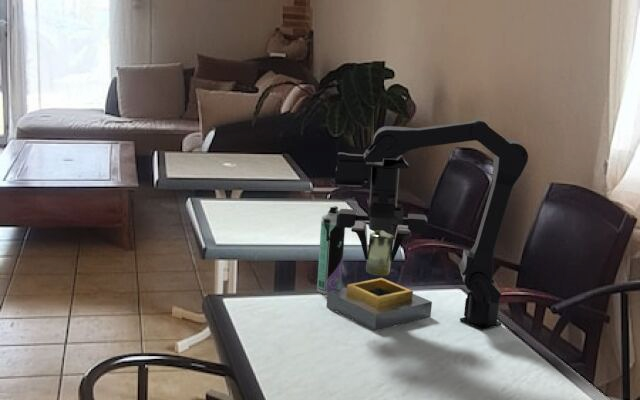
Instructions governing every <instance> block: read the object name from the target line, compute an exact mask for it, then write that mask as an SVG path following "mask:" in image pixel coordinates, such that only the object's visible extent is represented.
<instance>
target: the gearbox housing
mask: <svg viewBox="0 0 640 400" xmlns="http://www.w3.org/2000/svg"><path fill="white" fill-rule="evenodd" d="M326 295H327V297H326V308H328V307H329V308H328V309H330V308H331V310H332V309H333V311H334V310H335V311H334V312H336V311H337V312H336V313H338V312H339V313H338V314H340V313H341V314H340V315H342V314H343V316H344V315H345V316H344V317H346V316H347V317H346V318H348V317H349V319H350V318H351V319H350V320H352V319H353V321H355V322H356V321H357V323H359V324H361V325H363V326H364V327H366V328H368V329H370V330H373V331H380V330H384V329H389V328H392V327H397V326H399V325H400V326H401V325H405V324H408V323H412V322H416V321H420V320H421V321H422V320H425V319H428V318H431V316H432V307H433V306H432V305H433V302H432V301H431V300H429V299H426V298H424V297H421V296H419V295H418V294H415V293H414V290H412V289H409V288H407V287H404V286H402V285H400V284H397V283H395V282H392V281H390V280H388V279H386V278H383V277H379V278H375V279H373V278H372V279H369V280H364V281H360V282H353V283H348V284H347V287H343V288H342V287H341V289H337V290H332V291H328V292H327V294H326Z"/></svg>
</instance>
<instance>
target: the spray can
mask: <svg viewBox="0 0 640 400" xmlns="http://www.w3.org/2000/svg"><path fill="white" fill-rule="evenodd" d="M338 211H339V207H338V206H331V207H330V208H329V210H328V211H327V213H326V214H324V215H322V216H321V220H320V236H319V237H320V238H319V251H318V252H319V255H318V269H317V270H318V271H317V286H316V287H317V288H316V290H317V292H319V293H320V294H322V295H327V292H328V291H332V290H337V289H342V280H343V278H342V277H343V265H344V264H343V263H344V261H343V260H344V248H345V246H344V245H345V234H346V228H343V227H337V226H336V219H337V214H338Z"/></svg>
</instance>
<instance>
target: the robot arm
mask: <svg viewBox="0 0 640 400" xmlns="http://www.w3.org/2000/svg"><path fill="white" fill-rule="evenodd" d="M372 140H373V142H372V143H371V144H370V146H368V148H367V149H365V151H364V153H363V154H358V153H346V152H343V151H342V152H340V151H339V152H338V153H337V160H336V161H337V162H336V168H335V175H334V176H335V177H334V178H335V179H334V186H340V187H341V186H346V187H360V188H362V187H363V185H365V183H368V179H369V168H370V167H371V171H370V173H371V175H370V190H369V204H368V208H367V210H368V211H367V214H360V213H359V214H358V210H357V209H350V208H349V209H348V208H340V209H338V214H337V219H336V226H337V227H343V228H345V229H351V230H350V231H351V232H352V233H356V235H357V237H358V240H359V242H360V244H361V249H362V252H363V256H364V260H365V261H367V256H368V248H369V243H368V230H367V229H369V230H371V231H372V232H375V231H376V230H381V232H382V231H383V232H384V231H385V233H389V232H392V231H393V230H394V227H396V231H395V234H394V240H393V248H392V256H391V263H393V262H394V260H395V259H396V255H397V253H398V250H399V248H400V246H401V245H402V242H403V241H404V239H406V237H410V236H412V234H423V235H424V234H427V230H428V217H427V216H426V215H425V214H417V213H408V215H407V217H404V211H405V210H404V209H405V208H404V207H398V195H399V194H398V193H399V178H400V169H403V170H408V169H409V168H410V166H409V163H408V162H407V161H406V160H405V158H404V157H403V155H404V154H407V153H410V152H412V151H414V150H417V149H420V148H427V147H434V146H442V145H449V144H457V143H465V142H472V141H474V142H475V141H477V142H478V143H480V144H481V145H482V146H484V148H486V149H487V150H489V152H491V153H492V154H493V163H492V183H491V186H490V190H489V193H488V196H487V200H486V204H485V207H484V211H483V213H482V218H481V220H480V221H481V222H480V225H479V228H478V232H477V236H476V238H475V243H474V244H473V246H472V248H471V249H470V250H468V249H465V248H463V252H462V259H461V261H460V263H459V264H458V268H459V271H460V275H461V277H462V281H463V283H464V286H465V287H466V289H467V290H468V291H469V292H467V295H466V298H465V303H464V310H463V311H464V312H463V313H464V314H463V316H464V317H460V319H459V321H460V322H462V323H464V324H466V325H469V326H472V327H473V328H475V329H478V330H480V331H485V330H488V329H493V328H496V327H499V326H502V322H501V321H498V316H499V309H500V308H499V307H500V300H501V297H502V293H501V291H500V289H499V287H498V284H497V283H496V281H495V280H494V278H493V276H494V268H495V267H494V265H495V263H494V255H495V250H496V249H495V248H496V245H497V242H498V239H499V235H500V232H501V228H502V225H503V221H504V219H505V218H504V217H505V216H506V215H505V214H506V211H507V208H508V204H509V201H510V197H511V194H512V190H513V188H514V186H515V185H516V184H517V182H518V180H519V179H520V178H521V176H522V174H523V172H524V169H525V168H526V166H527V163H528V160H529V153H528V151H527V150H526V148H525V147H524V146H523V145H521V143H519V142H518V141H516V140H514V139H513V138H512V139H510V138H508V139H505V138H504V137H503V136H501V135H500V134H499V133H498V132H496V131H495V130H494V129H493V128H491V127H490V126H489V125H488V124H487V123H486V122H485V121H484V120H482V119H480V118H474V119H473V120H471V121H468V120H467V121H462V122H454V123H447V124H438V125H433V126H432V125H431V126H423V127H406V126H390V125H388V126H387V125H386V126H382V127H379V128H378V129H377V131H376V132H375V133H374V136H373V139H372ZM397 156H398V157H397ZM394 157H397V158H394ZM381 159H382V161H379V160H381ZM367 225H368V226H367Z"/></svg>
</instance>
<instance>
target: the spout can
mask: <svg viewBox="0 0 640 400" xmlns="http://www.w3.org/2000/svg"><path fill="white" fill-rule="evenodd" d="M394 239H395V235H393V234H391V233H389V232H382V230H376V231H372V232H371V233H369V239H368V256H367V260H366V266H365V271H366V273H368V274H369V275H373V276H378V277H379V276H381V277H382V276H389V275H390V270H391V263H392V262H391V256H392V249H393V244H394Z"/></svg>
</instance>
